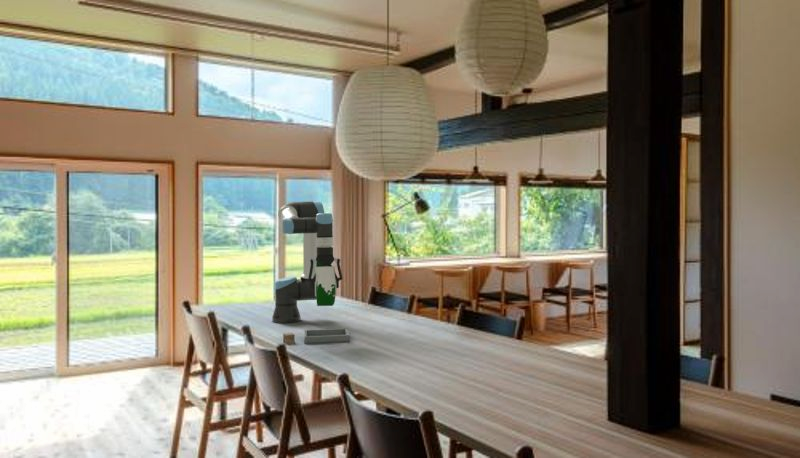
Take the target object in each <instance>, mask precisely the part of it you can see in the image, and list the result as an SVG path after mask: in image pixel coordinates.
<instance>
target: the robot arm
mask: <svg viewBox="0 0 800 458" xmlns="http://www.w3.org/2000/svg"><path fill="white" fill-rule="evenodd" d="M277 216H278V218H279V221H280V222H281V231H282V233H283V234H284V235H285V234H286V235H292V234H296V235H298V234H303V235H302V236H303V237H302V239H303V240H302V241H303V243H302V244H303V246H302V247H303V250H302V251H303V254H302V255H303V256H302V257H303V260H302V261H303V264H302V265H303V268H302V269H303V272H302V274H301V275H300V278H299V279H298V278H297V276H288V277H287V276H286V277H282V278H278V279H276V281H275V283H274V295H275V296H274V299H275V300H274V301H275V303H274V305H275V306H274V311H273V314H272V317H271V318H272V321H271V322H273V323H276V324H290V323H297V322H300V321H301V319H302V318H301V314H300V310H299V307H298V301H317V300H316V262H320V263H321V264H323V262H324V266H329V267H332V266H333V265H332V264H333V263H334V262H335V264H336V266H337V271H338V274H337V273H336V270H335V271H334V272H335V279H336V281H335V297H336V296H337V289H339V288H340V285H339V284H340V282H339V281H342V280H343V274H342V269H341V265H340V264H341V259H340V258H335V257H334V248H333V246H334V235H333V234H334V231H333V229H334V227H333V226H334V225H333V224H334V219H333V214H332V213H330V212H329V213H325V208H324V204H323V203H322V202H321V201H314V200H313V201H290V202H288V203H285V204H284V205H282V206H281V207H280V208H279V210H278V214H277ZM319 266H322V265H320V264H319ZM337 275H338V276H337Z"/></svg>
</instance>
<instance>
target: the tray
mask: <svg viewBox="0 0 800 458" xmlns="http://www.w3.org/2000/svg"><path fill="white" fill-rule="evenodd" d="M303 337H304V344H306V345H308V344H311V345H312V344H329V343H330V344H331V343H332V344H333V343H349V342H350V334H349V331H348V328H328V329H327V328H325V329H324V328H323V329H304V336H303Z"/></svg>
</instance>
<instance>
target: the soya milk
mask: <svg viewBox="0 0 800 458" xmlns="http://www.w3.org/2000/svg"><path fill="white" fill-rule="evenodd" d="M319 264H320V265H322V266H319ZM334 271H335V272H334ZM335 273H336V266H335V265H332V267H329V266H324V262H323V264H321V263H320V262H316V300H315V301H316V306H317V307H333V306H334V304H335V303H336V296H335V281H336V279H335Z"/></svg>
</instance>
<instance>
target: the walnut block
mask: <svg viewBox="0 0 800 458" xmlns="http://www.w3.org/2000/svg"><path fill="white" fill-rule="evenodd" d="M282 336H283V337H282V339H283V340H282V341H283V343H284V344H286V345H288V344H290V343H291V344H296V342H295V341H296V339H295V337H296V336H295V333H293V332H288V333H283V334H282Z"/></svg>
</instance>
